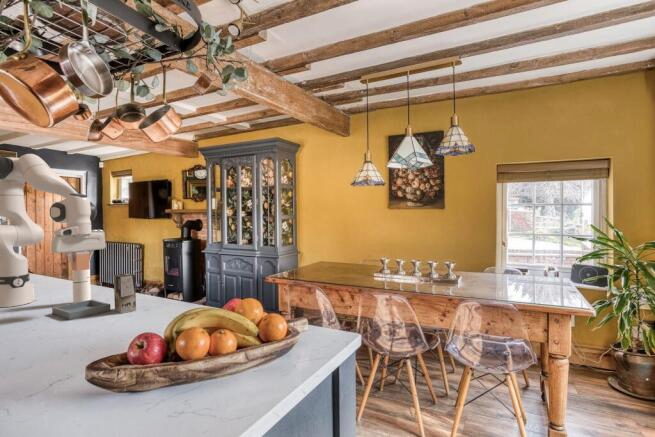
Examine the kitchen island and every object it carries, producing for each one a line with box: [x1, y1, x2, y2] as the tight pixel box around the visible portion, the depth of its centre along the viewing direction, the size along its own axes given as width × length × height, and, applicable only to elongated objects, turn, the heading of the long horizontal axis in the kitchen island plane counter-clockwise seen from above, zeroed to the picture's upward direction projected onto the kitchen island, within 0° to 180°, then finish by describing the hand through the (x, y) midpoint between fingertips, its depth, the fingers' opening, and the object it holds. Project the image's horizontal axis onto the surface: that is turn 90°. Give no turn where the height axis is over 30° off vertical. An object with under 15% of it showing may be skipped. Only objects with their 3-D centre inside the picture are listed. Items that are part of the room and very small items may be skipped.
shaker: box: [71, 251, 91, 271], centre depth 158 cm, size 5×5×8 cm
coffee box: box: [113, 272, 137, 314], centre depth 162 cm, size 9×6×16 cm
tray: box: [51, 299, 111, 321], centre depth 159 cm, size 17×16×3 cm
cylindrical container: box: [71, 260, 92, 303], centre depth 175 cm, size 7×7×25 cm
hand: (80, 261), depth 158 cm, fingers closed on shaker, 5 cm apart
